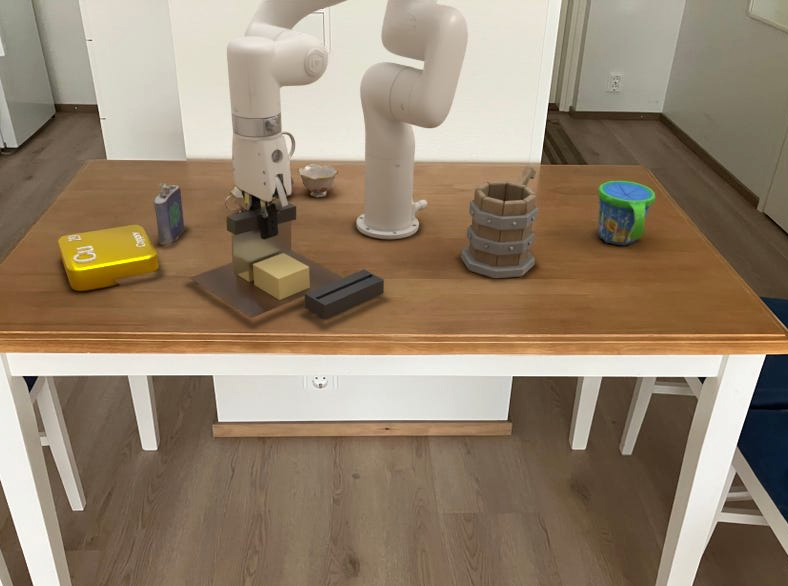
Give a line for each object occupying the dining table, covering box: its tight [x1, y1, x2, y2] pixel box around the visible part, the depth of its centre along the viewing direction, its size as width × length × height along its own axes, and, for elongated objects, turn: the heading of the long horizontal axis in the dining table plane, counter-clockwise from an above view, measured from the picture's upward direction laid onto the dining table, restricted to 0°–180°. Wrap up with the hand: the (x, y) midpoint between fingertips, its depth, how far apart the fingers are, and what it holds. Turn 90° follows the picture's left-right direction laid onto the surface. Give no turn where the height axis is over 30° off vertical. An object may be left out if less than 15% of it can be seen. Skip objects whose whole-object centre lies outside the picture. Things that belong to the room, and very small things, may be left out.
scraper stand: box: [304, 268, 385, 320], centre depth 128 cm, size 13×5×4 cm, turn 134°
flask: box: [153, 183, 186, 247], centre depth 147 cm, size 9×3×11 cm, turn 172°
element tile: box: [57, 224, 160, 292], centre depth 138 cm, size 15×15×5 cm
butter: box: [253, 253, 310, 300], centre depth 131 cm, size 6×7×4 cm
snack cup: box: [597, 180, 656, 246], centre depth 152 cm, size 16×11×10 cm
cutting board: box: [189, 249, 344, 319], centre depth 135 cm, size 20×18×2 cm
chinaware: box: [224, 130, 339, 214], centre depth 163 cm, size 28×17×17 cm, turn 139°
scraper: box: [226, 201, 297, 275], centre depth 130 cm, size 12×2×10 cm, turn 134°
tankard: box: [460, 165, 539, 279], centre depth 143 cm, size 20×13×15 cm, turn 147°
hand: (263, 233), depth 130 cm, fingers closed on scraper, 2 cm apart
